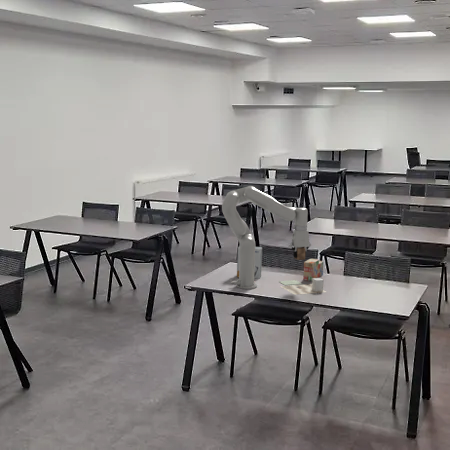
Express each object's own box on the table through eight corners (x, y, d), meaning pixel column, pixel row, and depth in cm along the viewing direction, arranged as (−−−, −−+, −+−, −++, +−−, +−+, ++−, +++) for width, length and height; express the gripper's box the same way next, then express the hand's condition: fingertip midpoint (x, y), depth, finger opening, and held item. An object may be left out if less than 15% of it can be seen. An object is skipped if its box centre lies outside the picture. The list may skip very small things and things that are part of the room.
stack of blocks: (314, 273, 418) (314, 255, 417) (323, 274, 416) (323, 256, 414) (303, 280, 400) (303, 261, 398) (312, 281, 397) (313, 262, 395)
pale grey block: (315, 291, 371) (316, 280, 370) (311, 289, 376) (312, 278, 374) (323, 291, 373) (323, 279, 372) (319, 289, 377) (319, 277, 376)
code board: (294, 295, 363) (294, 294, 363) (280, 286, 382) (280, 286, 382) (327, 292, 371) (327, 292, 371) (311, 284, 389) (311, 283, 389)
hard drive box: (236, 277, 404) (236, 247, 401) (238, 274, 411) (239, 245, 408) (259, 279, 401) (260, 249, 397) (261, 276, 408) (262, 246, 405)
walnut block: (297, 259, 374) (298, 248, 373) (294, 258, 379) (294, 247, 378) (305, 259, 376) (305, 248, 375) (301, 257, 380) (301, 246, 379)
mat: (284, 285, 385) (284, 284, 385) (278, 282, 393) (278, 281, 393) (302, 284, 389) (302, 283, 389) (295, 280, 397) (295, 280, 397)
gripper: (290, 229, 368) (289, 259, 371) (316, 228, 374) (314, 258, 376) (285, 227, 375) (284, 257, 378) (310, 226, 381) (309, 255, 383)
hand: (299, 257), depth 377 cm, fingers closed on walnut block, 5 cm apart
